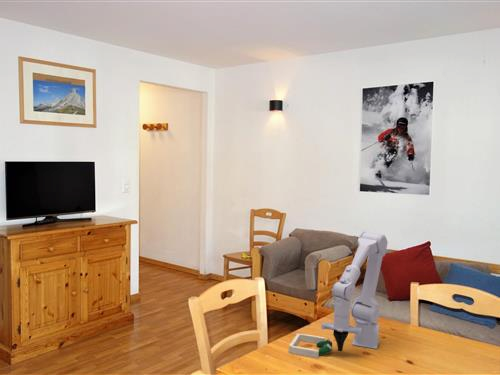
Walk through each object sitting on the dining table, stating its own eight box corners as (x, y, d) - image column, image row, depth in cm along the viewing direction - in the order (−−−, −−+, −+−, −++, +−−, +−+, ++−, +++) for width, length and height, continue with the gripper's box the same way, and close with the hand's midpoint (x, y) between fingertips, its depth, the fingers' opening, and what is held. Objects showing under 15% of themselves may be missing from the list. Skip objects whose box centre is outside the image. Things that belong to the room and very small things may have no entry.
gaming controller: (321, 361, 166) (333, 351, 165) (314, 353, 167) (326, 343, 166) (322, 351, 175) (334, 342, 174) (315, 343, 176) (327, 334, 175)
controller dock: (325, 343, 178) (325, 337, 178) (318, 358, 164) (318, 351, 164) (297, 339, 182) (297, 333, 182) (288, 352, 168) (288, 346, 168)
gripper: (320, 315, 167) (319, 351, 167) (360, 320, 162) (358, 357, 162) (324, 309, 173) (322, 343, 174) (362, 314, 168) (361, 350, 169)
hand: (340, 350), depth 169 cm, fingers closed
